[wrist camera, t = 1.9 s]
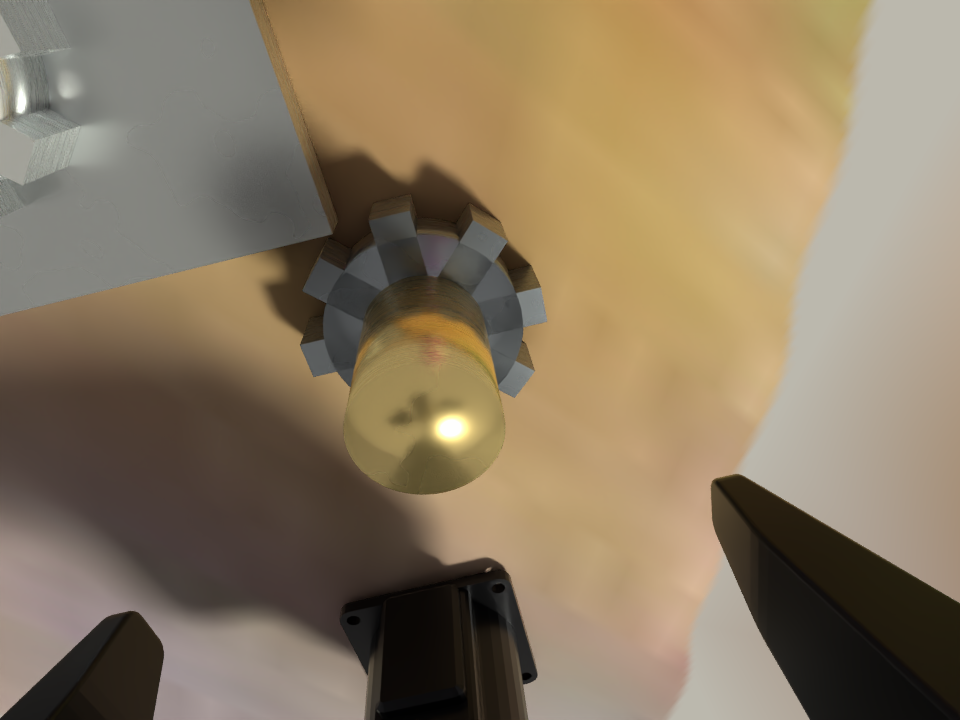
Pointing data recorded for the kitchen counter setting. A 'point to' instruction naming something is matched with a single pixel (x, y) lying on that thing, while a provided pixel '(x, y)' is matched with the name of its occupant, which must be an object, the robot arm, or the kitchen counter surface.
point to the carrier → (145, 144)
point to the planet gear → (423, 343)
